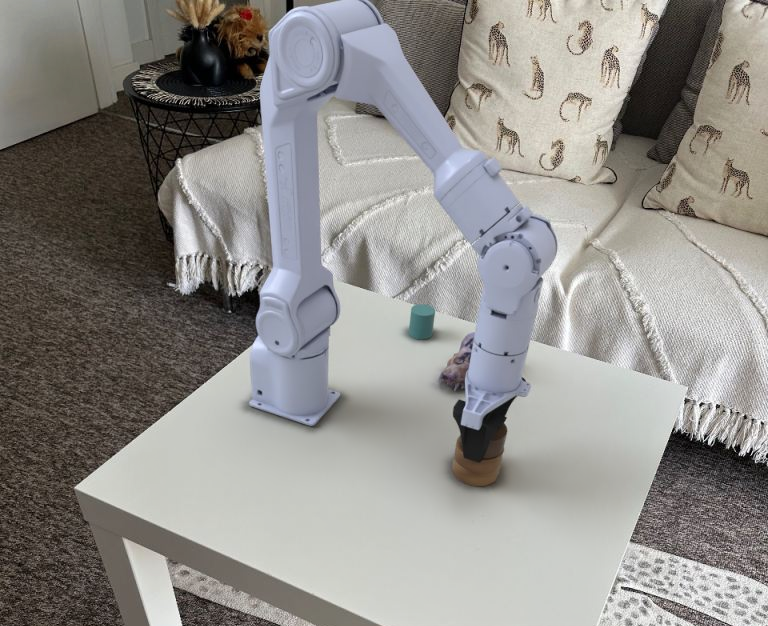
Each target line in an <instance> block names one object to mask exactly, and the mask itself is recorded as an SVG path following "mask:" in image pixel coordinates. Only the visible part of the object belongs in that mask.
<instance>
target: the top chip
mask: <svg viewBox="0 0 768 626" xmlns="http://www.w3.org/2000/svg"><path fill="white" fill-rule="evenodd" d="M459 439H460V435H459V436H458V437H457V438H456V443H455V449H454V455H453V458H454V457H455V460H456V462H457V463H458V465H459V466H461V467H462V468H464V469H465V470H467V471H470V472H474V473H489V472H492V471H495V470H496V469H498V467H499V466H500V467H501V465H502V460H503V457H504V452H505V447H504V448H503V451H502V453H501V454H499V455H498V456H496V457H493V458H483V459H482V461H481V462H480V463H478V462H475V461H472V460H469V459H466V458H464V456H463V450H462V448H461V447H460V444H459Z"/></svg>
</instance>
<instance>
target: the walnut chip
mask: <svg viewBox="0 0 768 626" xmlns="http://www.w3.org/2000/svg"><path fill="white" fill-rule="evenodd" d="M507 435H508V427H507V425H506V423H505V422H504V424H503V426H502V427H501V428H500V429H499V431H498V432H496V433H495V434H494V436H493V437H492V439H491V442H490V444H489V447H488V449H487V452H486V454H485V456H484V457H483V458H493V457H496V456H498V455H499V454H501V453H502V451H503V448H504V449H505V443H506V439H507ZM459 436H460V439H459V444H460V447H461V448H462V441H461V434H459Z"/></svg>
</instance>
